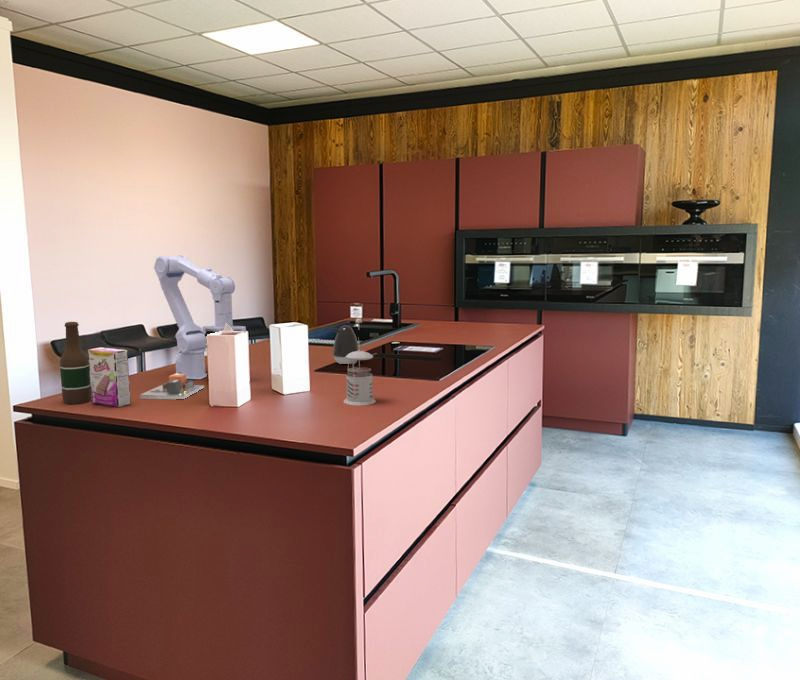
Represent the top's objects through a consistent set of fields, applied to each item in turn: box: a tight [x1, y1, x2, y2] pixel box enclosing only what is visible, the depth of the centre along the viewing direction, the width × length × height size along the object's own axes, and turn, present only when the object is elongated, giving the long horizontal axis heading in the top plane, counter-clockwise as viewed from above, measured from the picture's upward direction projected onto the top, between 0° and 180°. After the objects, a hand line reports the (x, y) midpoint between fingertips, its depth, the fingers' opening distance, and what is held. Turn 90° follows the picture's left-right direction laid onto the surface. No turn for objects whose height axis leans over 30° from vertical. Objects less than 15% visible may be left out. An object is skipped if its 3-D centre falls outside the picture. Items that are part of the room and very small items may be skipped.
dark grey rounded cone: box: [331, 325, 359, 365], centre depth 256 cm, size 10×10×15 cm
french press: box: [343, 318, 377, 406], centre depth 194 cm, size 10×12×25 cm
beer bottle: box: [59, 321, 92, 405], centre depth 194 cm, size 8×8×24 cm
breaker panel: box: [139, 380, 205, 400], centre depth 206 cm, size 14×15×3 cm
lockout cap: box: [168, 372, 188, 389], centre depth 209 cm, size 4×4×4 cm
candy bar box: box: [87, 346, 132, 408], centre depth 192 cm, size 11×5×16 cm, turn 65°
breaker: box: [165, 380, 181, 393], centre depth 202 cm, size 3×4×3 cm
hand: (225, 353), depth 222 cm, fingers open, 7 cm apart
